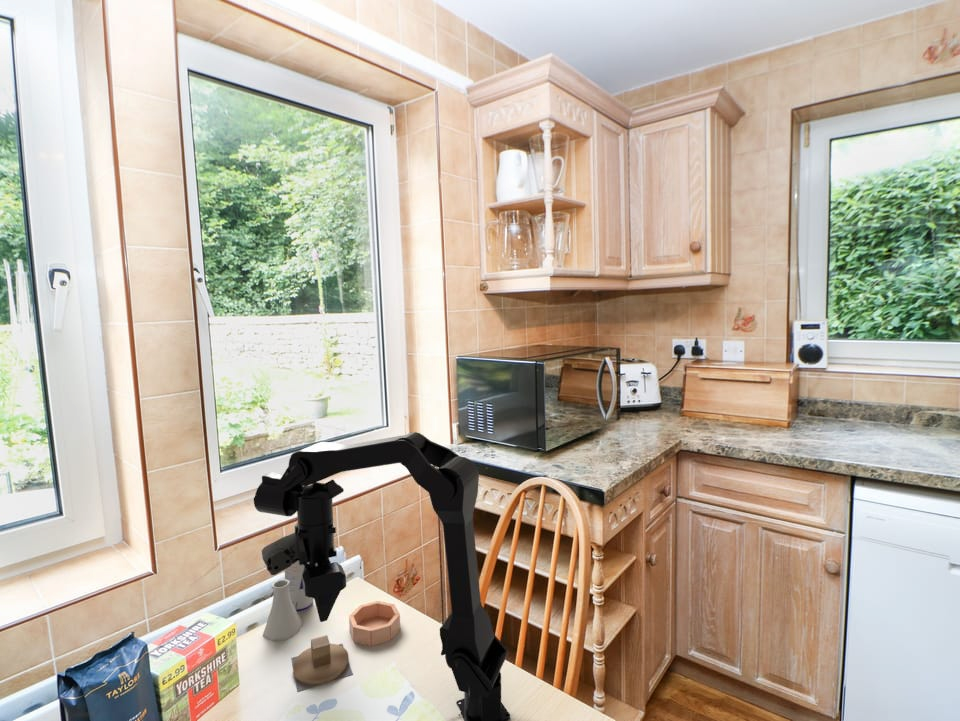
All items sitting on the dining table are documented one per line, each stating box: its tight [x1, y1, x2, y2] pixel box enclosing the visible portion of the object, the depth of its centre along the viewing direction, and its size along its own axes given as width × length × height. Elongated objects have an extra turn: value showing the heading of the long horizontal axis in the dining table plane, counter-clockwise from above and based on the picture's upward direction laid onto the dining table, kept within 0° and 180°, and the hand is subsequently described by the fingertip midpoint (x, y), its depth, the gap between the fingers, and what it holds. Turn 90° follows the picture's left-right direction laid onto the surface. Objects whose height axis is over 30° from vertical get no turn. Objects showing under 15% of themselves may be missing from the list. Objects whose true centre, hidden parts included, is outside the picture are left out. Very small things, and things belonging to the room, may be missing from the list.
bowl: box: [348, 600, 401, 647], centre depth 101 cm, size 9×9×4 cm
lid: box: [292, 634, 350, 686], centre depth 91 cm, size 9×9×4 cm
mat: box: [290, 643, 354, 693], centre depth 91 cm, size 9×9×1 cm
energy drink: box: [284, 561, 314, 614], centre depth 109 cm, size 5×5×12 cm
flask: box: [262, 578, 303, 641], centre depth 101 cm, size 7×7×10 cm
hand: (319, 606), depth 90 cm, fingers open, 9 cm apart
